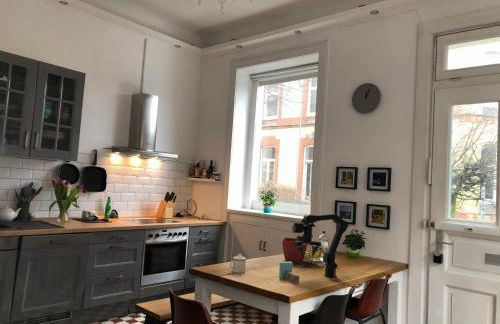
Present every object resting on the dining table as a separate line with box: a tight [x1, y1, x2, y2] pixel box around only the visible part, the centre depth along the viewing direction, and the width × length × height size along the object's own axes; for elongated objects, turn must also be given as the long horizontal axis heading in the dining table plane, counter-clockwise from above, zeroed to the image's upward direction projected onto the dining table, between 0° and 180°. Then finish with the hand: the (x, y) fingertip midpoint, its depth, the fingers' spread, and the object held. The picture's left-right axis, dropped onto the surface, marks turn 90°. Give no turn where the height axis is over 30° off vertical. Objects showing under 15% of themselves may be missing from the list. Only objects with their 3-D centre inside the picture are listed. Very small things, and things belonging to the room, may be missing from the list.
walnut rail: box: [283, 271, 300, 285], centre depth 254 cm, size 20×2×5 cm, turn 21°
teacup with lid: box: [229, 253, 247, 274], centre depth 270 cm, size 12×9×12 cm
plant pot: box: [281, 237, 308, 264], centre depth 318 cm, size 19×19×17 cm
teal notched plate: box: [278, 261, 294, 280], centre depth 260 cm, size 8×2×10 cm, turn 111°
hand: (306, 256), depth 268 cm, fingers open, 9 cm apart
